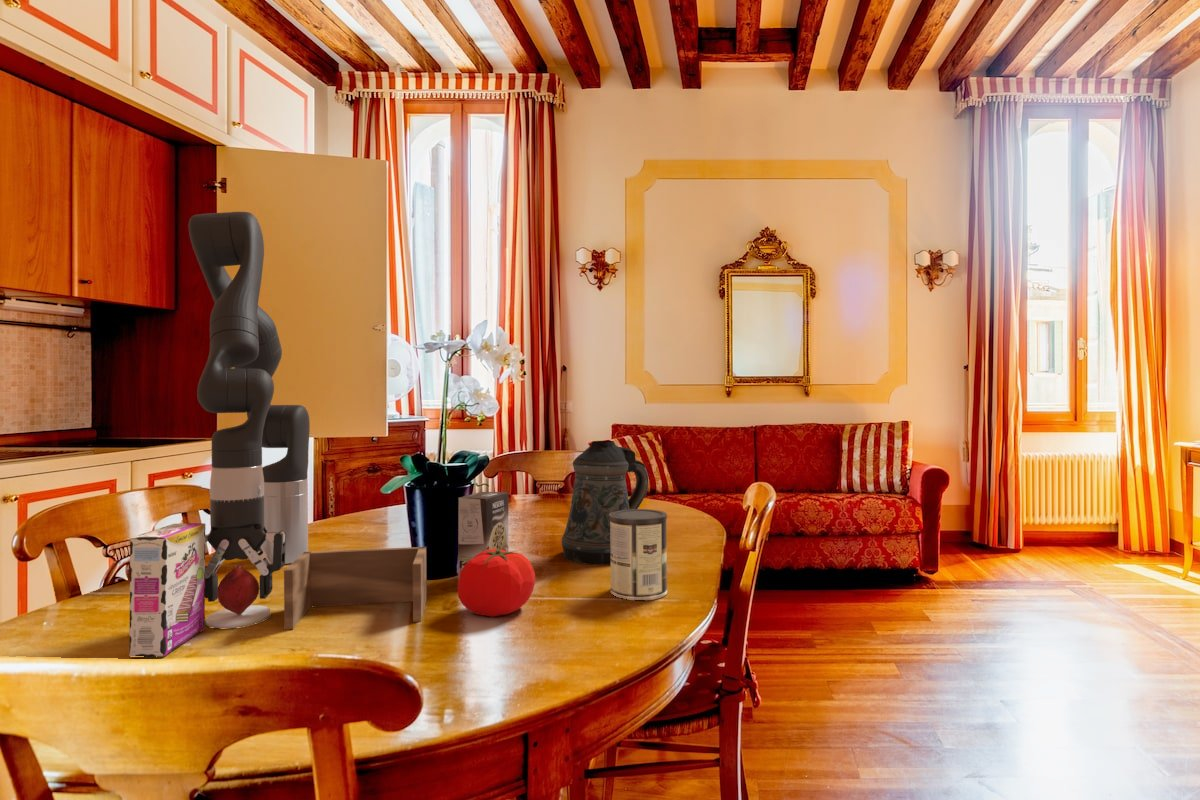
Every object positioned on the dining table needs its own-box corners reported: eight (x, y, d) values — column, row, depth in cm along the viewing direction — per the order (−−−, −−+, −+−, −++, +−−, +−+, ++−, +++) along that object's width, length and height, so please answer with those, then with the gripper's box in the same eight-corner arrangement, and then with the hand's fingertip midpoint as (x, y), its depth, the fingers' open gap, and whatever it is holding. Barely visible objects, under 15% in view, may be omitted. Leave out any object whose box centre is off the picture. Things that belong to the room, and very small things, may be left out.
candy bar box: (166, 658, 91) (165, 537, 91) (127, 659, 90) (126, 538, 90) (208, 629, 102) (207, 521, 102) (173, 630, 102) (172, 522, 101)
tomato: (452, 606, 112) (451, 545, 112) (525, 597, 117) (525, 538, 117) (466, 628, 102) (466, 560, 102) (546, 617, 107) (545, 552, 107)
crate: (304, 605, 113) (304, 552, 113) (426, 598, 117) (426, 546, 117) (284, 629, 101) (283, 570, 101) (421, 621, 105) (420, 564, 105)
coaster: (218, 611, 110) (218, 607, 110) (277, 608, 112) (277, 603, 112) (196, 631, 101) (196, 625, 101) (260, 627, 103) (260, 621, 103)
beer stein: (546, 558, 145) (545, 442, 145) (597, 541, 161) (597, 437, 161) (609, 569, 136) (609, 445, 135) (657, 550, 152) (657, 439, 151)
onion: (241, 621, 103) (240, 569, 103) (209, 619, 104) (207, 568, 104) (267, 608, 109) (266, 559, 108) (236, 607, 110) (234, 558, 110)
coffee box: (487, 585, 125) (486, 498, 124) (457, 582, 127) (456, 496, 127) (510, 573, 133) (509, 491, 133) (481, 570, 135) (481, 490, 135)
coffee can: (634, 580, 127) (634, 506, 127) (678, 591, 120) (678, 513, 120) (597, 592, 120) (597, 514, 120) (642, 605, 113) (642, 521, 113)
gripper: (292, 489, 111) (293, 589, 111) (197, 492, 109) (198, 594, 109) (279, 496, 104) (280, 603, 104) (177, 499, 101) (178, 609, 101)
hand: (238, 598), depth 106 cm, fingers open, 7 cm apart
